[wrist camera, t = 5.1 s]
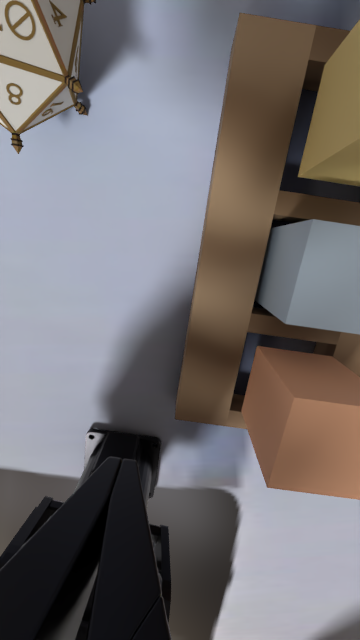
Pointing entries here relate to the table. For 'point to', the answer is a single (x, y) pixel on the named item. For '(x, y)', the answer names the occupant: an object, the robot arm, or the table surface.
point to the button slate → (313, 275)
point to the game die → (39, 61)
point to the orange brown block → (304, 422)
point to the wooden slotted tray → (254, 213)
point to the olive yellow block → (336, 119)
